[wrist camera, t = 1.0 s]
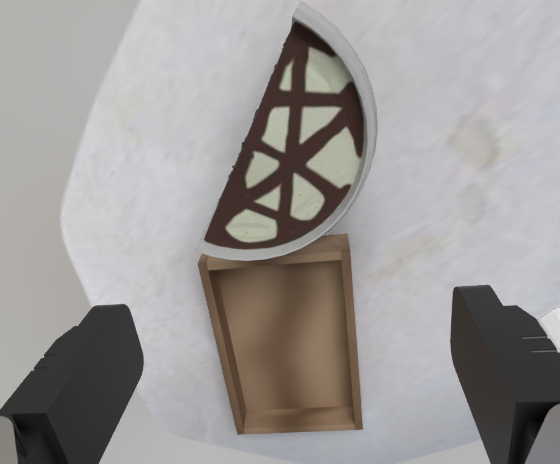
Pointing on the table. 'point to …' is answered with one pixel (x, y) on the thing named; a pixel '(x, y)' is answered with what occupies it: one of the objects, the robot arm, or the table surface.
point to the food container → (298, 149)
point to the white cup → (552, 326)
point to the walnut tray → (287, 338)
